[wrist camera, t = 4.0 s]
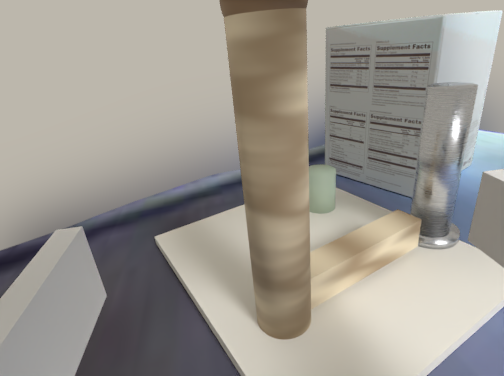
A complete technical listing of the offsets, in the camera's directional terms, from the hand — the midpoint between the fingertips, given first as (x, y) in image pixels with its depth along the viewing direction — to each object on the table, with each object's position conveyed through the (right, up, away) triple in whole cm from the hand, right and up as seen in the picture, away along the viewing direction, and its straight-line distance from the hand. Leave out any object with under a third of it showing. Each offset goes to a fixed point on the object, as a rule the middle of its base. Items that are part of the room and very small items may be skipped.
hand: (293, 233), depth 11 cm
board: (+4, -4, +16) cm, 17 cm away
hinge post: (+13, -2, +16) cm, 21 cm away
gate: (+5, -5, +12) cm, 14 cm away
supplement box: (+17, +4, +32) cm, 36 cm away
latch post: (+6, 0, +22) cm, 23 cm away
